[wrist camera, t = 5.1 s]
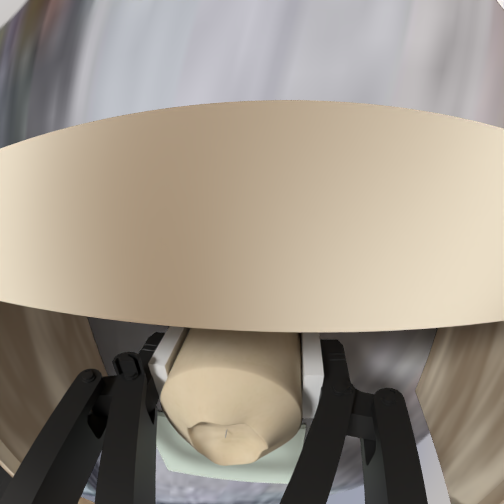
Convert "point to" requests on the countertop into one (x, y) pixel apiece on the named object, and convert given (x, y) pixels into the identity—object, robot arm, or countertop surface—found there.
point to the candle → (235, 393)
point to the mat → (263, 470)
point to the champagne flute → (501, 3)
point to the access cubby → (262, 250)
